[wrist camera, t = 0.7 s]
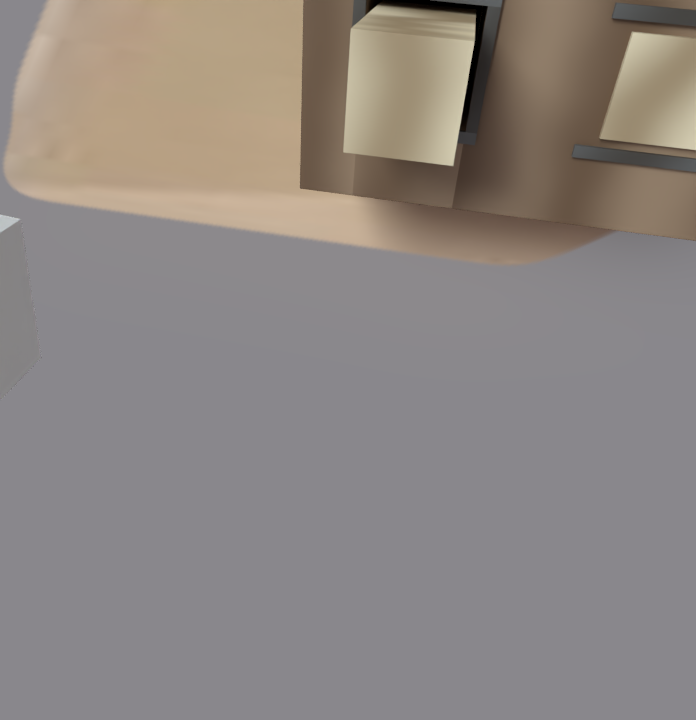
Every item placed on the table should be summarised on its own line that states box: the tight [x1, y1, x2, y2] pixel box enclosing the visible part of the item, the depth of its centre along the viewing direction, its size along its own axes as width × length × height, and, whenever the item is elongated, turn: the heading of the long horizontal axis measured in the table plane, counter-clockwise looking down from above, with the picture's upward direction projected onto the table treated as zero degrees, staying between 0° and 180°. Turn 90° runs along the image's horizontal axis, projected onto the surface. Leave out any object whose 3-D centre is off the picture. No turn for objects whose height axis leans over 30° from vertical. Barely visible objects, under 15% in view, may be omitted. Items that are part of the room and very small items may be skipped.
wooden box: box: [300, 0, 696, 241], centre depth 28 cm, size 20×12×9 cm, turn 86°
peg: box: [343, 0, 476, 166], centre depth 24 cm, size 4×4×8 cm
